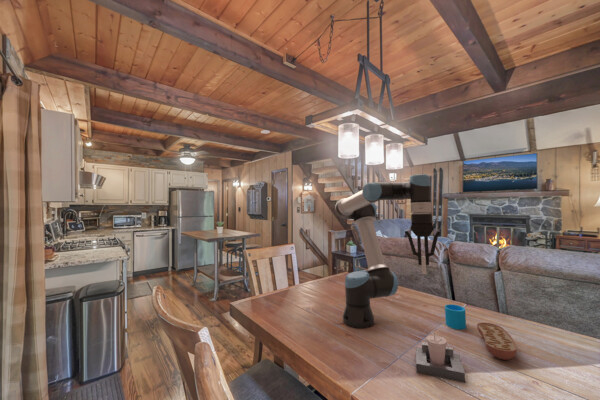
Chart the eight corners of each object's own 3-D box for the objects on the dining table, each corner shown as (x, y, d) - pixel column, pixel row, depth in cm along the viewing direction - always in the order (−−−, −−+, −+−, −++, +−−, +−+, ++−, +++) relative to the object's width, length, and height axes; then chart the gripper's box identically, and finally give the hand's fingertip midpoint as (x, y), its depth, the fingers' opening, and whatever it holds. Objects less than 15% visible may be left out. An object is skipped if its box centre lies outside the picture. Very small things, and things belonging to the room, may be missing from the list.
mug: (465, 331, 113) (464, 312, 114) (444, 326, 118) (443, 308, 118) (467, 321, 123) (466, 303, 123) (447, 317, 128) (447, 300, 128)
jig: (416, 372, 87) (415, 357, 87) (416, 355, 97) (415, 341, 97) (465, 382, 81) (464, 366, 81) (459, 363, 91) (459, 348, 91)
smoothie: (423, 363, 92) (421, 323, 92) (440, 361, 92) (438, 322, 93) (434, 374, 85) (432, 331, 86) (452, 372, 86) (450, 330, 86)
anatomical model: (475, 332, 112) (474, 321, 112) (503, 336, 108) (502, 324, 108) (488, 362, 91) (488, 347, 91) (524, 368, 87) (523, 353, 87)
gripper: (403, 214, 101) (405, 274, 101) (440, 213, 96) (443, 277, 95) (404, 213, 108) (406, 269, 107) (439, 212, 103) (442, 272, 102)
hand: (424, 273), depth 101 cm, fingers closed
